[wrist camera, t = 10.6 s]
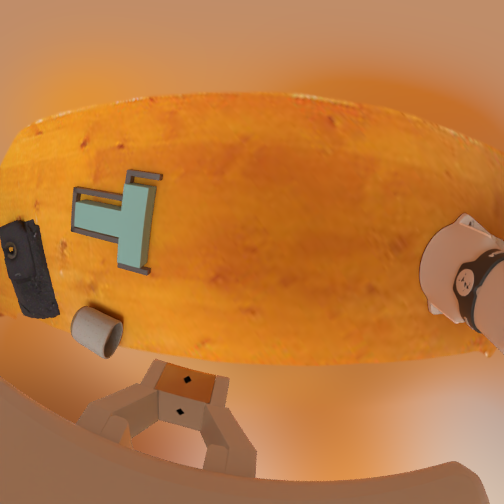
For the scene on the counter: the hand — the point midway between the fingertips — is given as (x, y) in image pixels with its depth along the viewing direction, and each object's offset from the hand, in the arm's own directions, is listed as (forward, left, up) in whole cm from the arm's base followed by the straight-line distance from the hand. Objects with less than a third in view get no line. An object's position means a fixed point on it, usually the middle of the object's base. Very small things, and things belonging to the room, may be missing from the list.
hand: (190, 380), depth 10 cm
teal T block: (+21, +3, -31) cm, 38 cm away
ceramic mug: (+22, +25, -31) cm, 46 cm away
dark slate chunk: (+44, +18, -32) cm, 57 cm away
